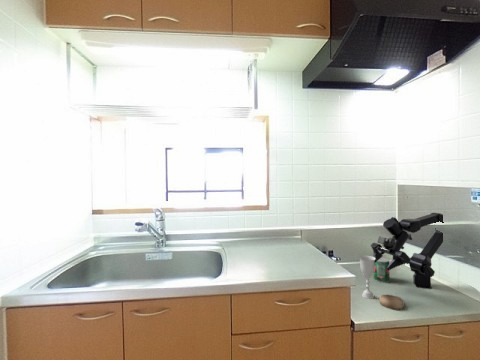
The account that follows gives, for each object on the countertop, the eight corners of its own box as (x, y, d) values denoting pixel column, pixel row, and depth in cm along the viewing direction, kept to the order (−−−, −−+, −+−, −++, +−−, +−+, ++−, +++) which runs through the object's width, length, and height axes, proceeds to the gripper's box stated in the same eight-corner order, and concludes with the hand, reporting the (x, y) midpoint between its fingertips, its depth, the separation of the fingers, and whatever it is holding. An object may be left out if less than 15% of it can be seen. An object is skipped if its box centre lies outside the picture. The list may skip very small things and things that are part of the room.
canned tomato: (392, 282, 139) (392, 261, 138) (377, 282, 139) (377, 261, 138) (384, 276, 147) (384, 256, 146) (370, 276, 147) (370, 257, 146)
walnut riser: (400, 301, 119) (400, 296, 119) (405, 311, 111) (405, 305, 111) (378, 298, 122) (378, 293, 122) (381, 308, 114) (381, 302, 114)
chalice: (369, 301, 120) (368, 261, 119) (356, 295, 126) (355, 257, 125) (379, 297, 123) (379, 258, 123) (366, 291, 129) (366, 254, 129)
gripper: (373, 226, 136) (355, 250, 133) (405, 234, 118) (385, 262, 116) (386, 240, 139) (368, 264, 136) (419, 250, 121) (400, 277, 118)
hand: (379, 266), depth 126 cm, fingers open, 9 cm apart
